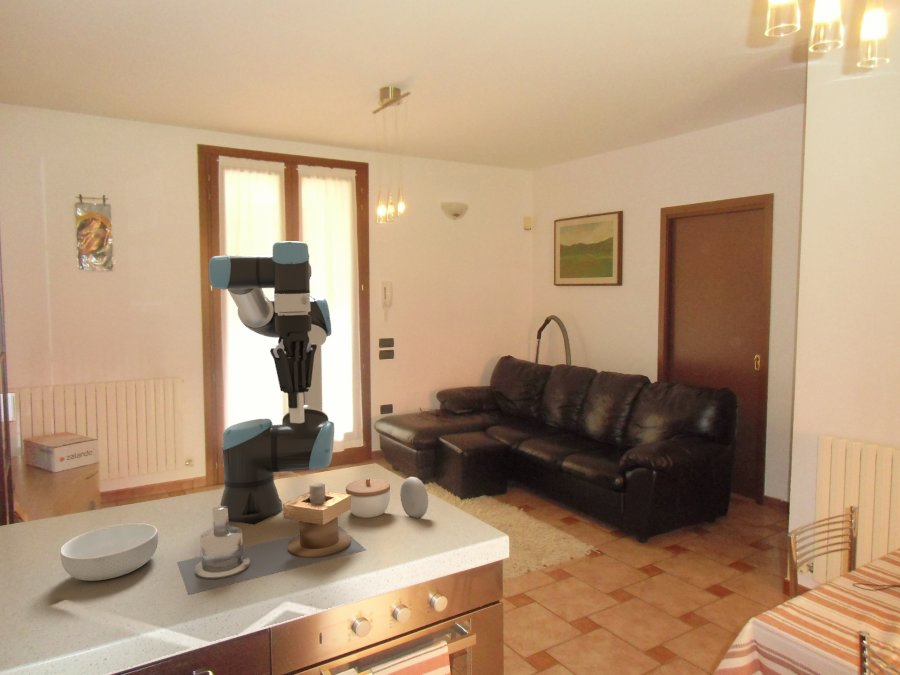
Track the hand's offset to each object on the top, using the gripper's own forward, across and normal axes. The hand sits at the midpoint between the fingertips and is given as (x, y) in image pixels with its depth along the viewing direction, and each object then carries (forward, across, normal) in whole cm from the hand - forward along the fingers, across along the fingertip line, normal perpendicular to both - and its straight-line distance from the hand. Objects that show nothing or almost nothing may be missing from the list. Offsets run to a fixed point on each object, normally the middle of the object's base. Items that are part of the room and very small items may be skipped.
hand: (297, 422), depth 131 cm
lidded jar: (+27, +18, -6) cm, 33 cm away
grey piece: (+27, +21, -17) cm, 38 cm away
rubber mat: (+26, -11, -2) cm, 29 cm away
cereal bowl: (+27, -27, +25) cm, 45 cm away
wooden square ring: (+18, -3, -7) cm, 20 cm away
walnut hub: (+25, -3, -7) cm, 26 cm away
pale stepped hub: (+25, -19, +4) cm, 32 cm away
